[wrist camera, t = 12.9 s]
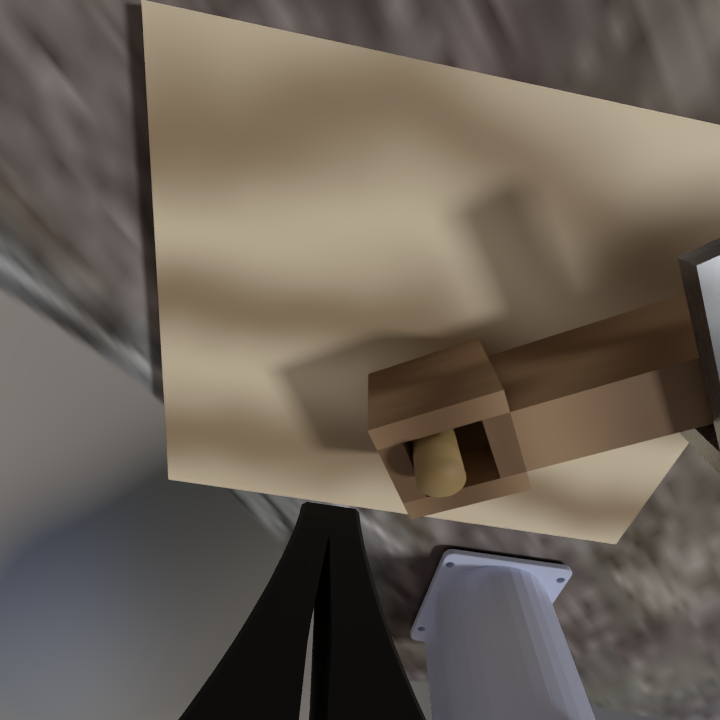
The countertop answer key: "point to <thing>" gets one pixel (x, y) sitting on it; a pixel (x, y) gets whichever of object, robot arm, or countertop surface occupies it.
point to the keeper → (705, 337)
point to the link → (540, 401)
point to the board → (394, 254)
